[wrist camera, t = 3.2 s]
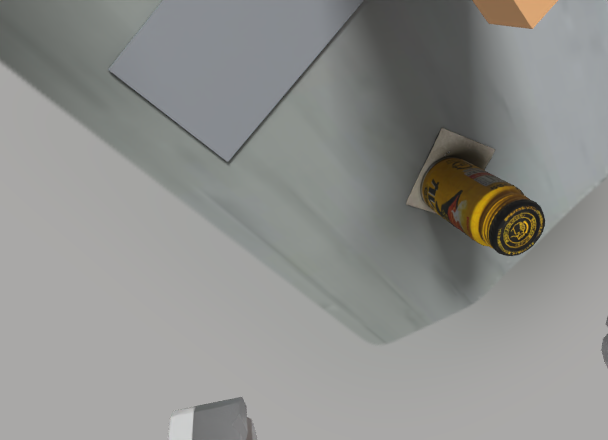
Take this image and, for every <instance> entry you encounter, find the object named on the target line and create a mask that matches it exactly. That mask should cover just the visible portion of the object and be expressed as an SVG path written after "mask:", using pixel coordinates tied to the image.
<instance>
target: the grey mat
mask: <svg viewBox="0 0 608 440" xmlns="http://www.w3.org/2000/svg"><path fill="white" fill-rule="evenodd" d="M363 1H364V0H162V2H161V3H160V4H159V6H158V7H157V8H156V9H155V11H154V12H153V13H152V14H151V16H150V17H149V18H148V19H147V21H146V22H145V23H144V24H143V26H142V27H141V28H140V29H139V31H138V32H137V33H136V35H135V36H134V37H133V38H132V40H131V41H130V42H129V43H128V45H127V46H126V47H125V48H124V50H123V51H122V52H121V53H120V55H119V56H118V57H117V59H116V60H115V61H114V62H113V64H112V65H111V66H110V67H109V69H108V70H109V71H110V72H112V73H113V74H114V75H116V76H117V77H118V78H120V79H121V80H122V81H123V82H125V83H126V84H127V85H129V86H130V87H131V88H132V89H134V90H135V91H136V92H138V93H139V94H140V95H142V96H143V97H144V98H145V99H147V100H148V101H149V102H151V103H152V104H153V105H154V106H156V107H157V108H158V109H160V110H161V111H162V112H164V113H165V114H166V115H167V116H169V117H170V118H171V119H173V120H174V121H175V122H176V123H178V124H179V125H180V126H182V127H183V128H184V129H186V130H187V131H188V132H189V133H191V134H192V135H193V136H195V137H196V138H197V139H198V140H200V141H201V142H202V143H204V144H205V145H206V146H208V147H209V148H210V149H211V150H213V151H214V152H215V153H217V154H218V155H219V156H220V157H222V158H223V159H224V160H226V161H227V162H228V161H229V160H230V159H231V158H232V156H233V155H234V154H235V153H236V152H237V150H238V149H239V148H240V147H241V146H242V145H243V143H244V142H245V141H246V140H247V139H248V137H249V136H250V135H251V134H252V133H253V131H254V130H255V129H256V128H257V127H258V126H259V124H260V123H261V122H262V121H263V120H264V118H265V117H266V116H267V115H268V114H269V112H270V111H271V110H272V109H273V108H274V107H275V105H276V104H277V103H278V102H279V101H280V99H281V98H282V97H283V96H284V95H285V93H286V92H287V91H288V90H289V89H290V88H291V86H292V85H293V84H294V83H295V82H296V80H297V79H298V78H299V77H300V76H301V74H302V73H303V72H304V71H305V70H306V69H307V67H308V66H309V65H310V64H311V63H312V61H313V60H314V59H315V58H316V57H317V56H318V54H319V53H320V52H321V51H322V50H323V48H324V47H325V46H326V45H327V44H328V42H329V41H330V40H331V39H332V38H333V37H334V35H335V34H336V33H337V32H338V31H339V29H340V28H341V27H342V26H343V25H344V23H345V22H346V21H347V20H348V19H349V18H350V16H351V15H352V14H353V13H354V12H355V10H356V9H357V8H358V7H359V6H360V4H361V3H362V2H363Z"/></svg>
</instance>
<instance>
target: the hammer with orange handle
mask: <svg viewBox="0 0 608 440" xmlns="http://www.w3.org/2000/svg"><path fill="white" fill-rule="evenodd" d="M472 1H473V2H474V3H475V5H476V6H477V8H478V9H479V10H480V12H481V13H482V15H483V16H484V18H485V19H486V20H487V22H488V23H489V24H496V25H504V26H512V27H521V28H529V29H533V28H534V27H535V26H536V24H537V23H538V22H539V21H540V20H541V19H542V18H543V17H544V15H545V14H546V13H547V12H548V11H549V10H550V9H551V8H552V7H553V5H554V4H555V3H556V2H557V1H558V0H472Z"/></svg>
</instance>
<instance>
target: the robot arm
mask: <svg viewBox="0 0 608 440" xmlns="http://www.w3.org/2000/svg"><path fill="white" fill-rule="evenodd" d="M606 325H607V326H608V317H607V322H606ZM602 354H603V358H604V362H605V364H606V365H607V367H608V334H607V335H606V336H605V337H604V339H603V343H602ZM168 440H257V436H256V432H255V429H254V425H253V423H252V420H251V419H250V418H248V417H247V409H246V405H245V402H244V400H243V398H242V397H239V398H234V399H229V400H224V401H219V402H214V403H209V404H204V405H199V406H194V407H190V408H185V409H181V410H176V411H173V413H172V415H171V417H170V422H169V433H168Z"/></svg>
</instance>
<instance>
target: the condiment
mask: <svg viewBox="0 0 608 440" xmlns="http://www.w3.org/2000/svg"><path fill="white" fill-rule="evenodd" d="M449 151H450V153H448V154H447V152H449ZM494 151H495V149H493V148H490V147H488V146H485V145H483V144H481V143H478V142H476V141H473V140H471V139H468V138H466V137H463V136H461V135H458V134H456V133H453V132H451V131H448V130H446V129H444V128H442V129H441V131H440V133H439V136H438V138H437V139H436V141H435V144H434V146H433V148H432V150H431V152H430V154H429V157H428V158H427V160H426V162H425V164H424V166H423V168H422V170H421V172H420V174H419V176H418V178H417V180H416V183H415V185H414V187H413V189H412V191H411V193H410V195H409V197H408V200H407V203H406V205H410V206H413V207H417V208H420V209H423V210H426V211H430V212H433V213H436V214H438V215H440V216H441V217H442V218H444V219H446V220H447V221H448V222H449V223H451V224H452V225H453V226H455V227H456V228H458V229H460V230H461V231H462V232H464V233H465V234H466V235H468V236H469V237H470V238H471V239H472V240H474V241H476V242H478V243H479V244H481V245H483V246H489V247H491V248H493V249H495V250H496V251H497V252H498V253H499V254H503V255H507V256H513V255H519V254H521V253H523V252H525V251H527V250H528V249H530V248H531V247H532V246H533V245H534V244H535V243H536V241H537V240H538V239H539V238H540V236H541V234H542V232H543V229H544V226H545V218H544V214H543V211H542V209H541V207H540V206H539V205H538V204H537V203H536V202H534V201H532V200H530V199H529V198H527V197H526V196H524V194H523V193H522V191H521V190H520V189H518V188H517V187H515V186H514V185H511V184H509V183H507V182H506V181H504V180H501V179H500V178H498V177H496V176H494V175H492V174H490V173H488V172H486V171H484V170H485V168H486V166H487V164H488V162H489V161H490V159H491V158H492V155H493V153H494ZM444 154H446V155H445V156H444Z"/></svg>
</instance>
